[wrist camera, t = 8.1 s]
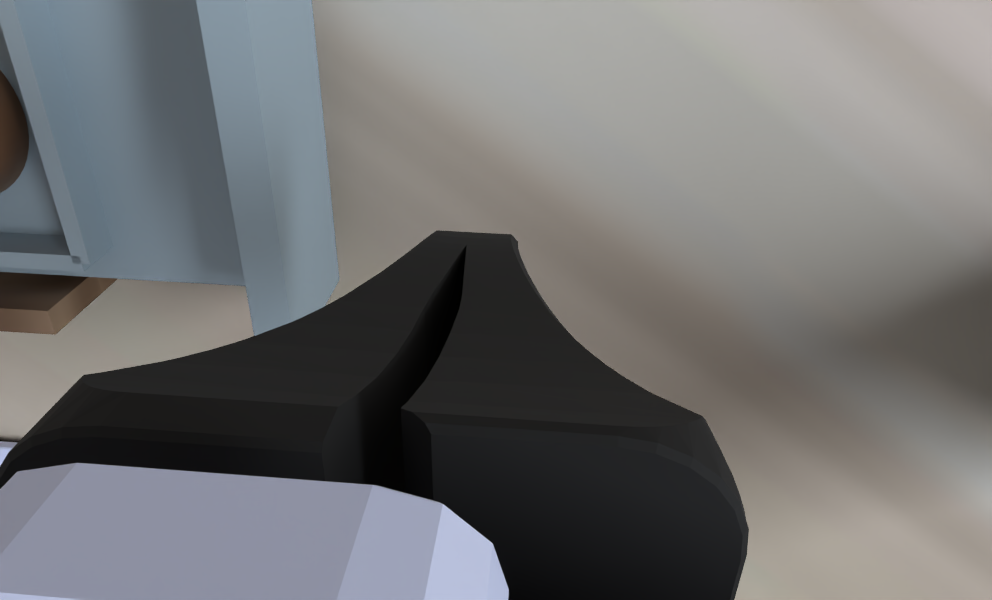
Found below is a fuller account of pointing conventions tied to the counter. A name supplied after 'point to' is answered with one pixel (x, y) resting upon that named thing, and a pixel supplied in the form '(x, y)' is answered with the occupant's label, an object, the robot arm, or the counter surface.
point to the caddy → (45, 300)
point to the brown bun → (11, 135)
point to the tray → (172, 147)
